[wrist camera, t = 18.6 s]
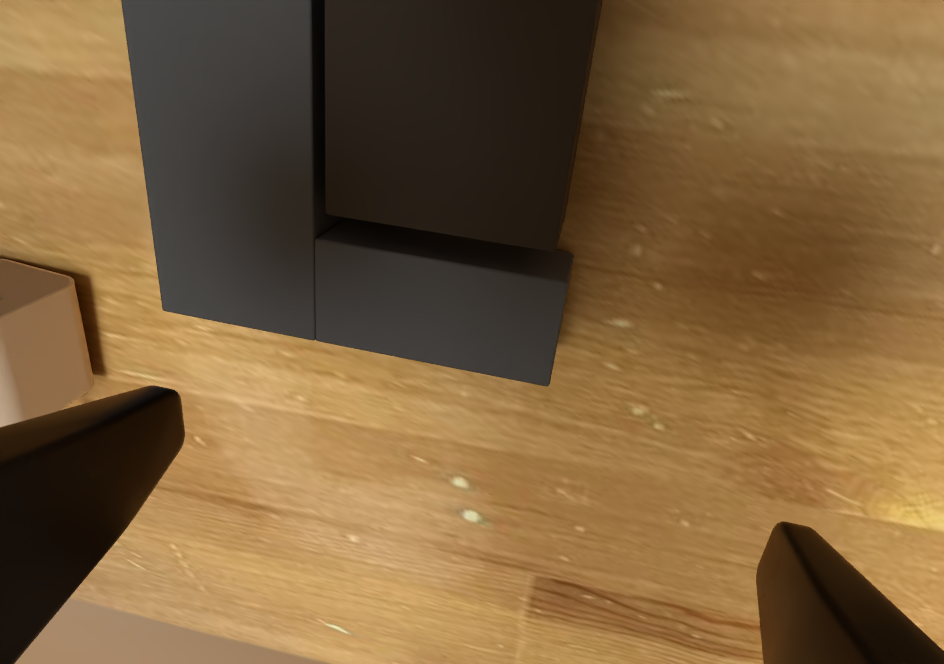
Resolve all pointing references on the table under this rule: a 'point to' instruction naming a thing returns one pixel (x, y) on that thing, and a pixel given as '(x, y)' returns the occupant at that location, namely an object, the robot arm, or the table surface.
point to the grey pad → (307, 205)
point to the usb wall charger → (39, 343)
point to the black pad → (456, 113)
